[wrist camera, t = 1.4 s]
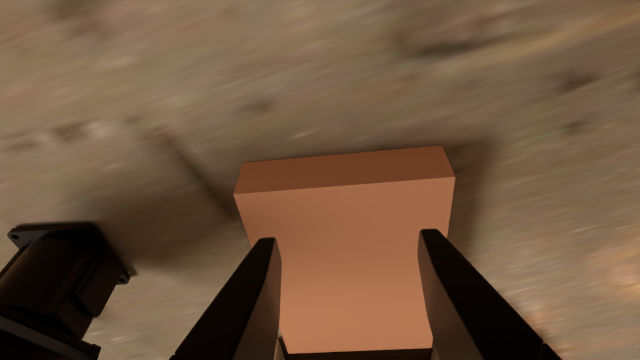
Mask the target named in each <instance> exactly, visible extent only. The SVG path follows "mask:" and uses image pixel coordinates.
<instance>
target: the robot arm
mask: <svg viewBox="0 0 640 360" xmlns="http://www.w3.org/2000/svg"><path fill="white" fill-rule="evenodd" d="M7 236H8V237H9V238H10V240H11V241H12V242H13V243H14V244H15V245H16V246H17V247H18V248H19V251H18V252H17V253H16V254H15V255H14V257H13V258H12V259H11V260H10V261H9V262H8V264H7V265H6V266H5V267H4V268H3V270H2V271H1V272H0V360H97V359H98V356H99V353H100V350H101V347H100V346H98V345H96V344H90V343H87V342H85V341H83V340H82V339H83V337H84V335H85V333H86V331H87V329H88V327H89V326H90V324H91V322H92V320H93V318H97V317H98V316H99V315H100V314H101V312H102V310H103V308H104V307H105V305H106V303H107V301H108V299H109V297H110V295H111V293H112V291H113V290H114V288H115V286H116V285H120V284H127V283H128V282H129V280H130V276H129V274H128V273H127V271H126V270H125V268H124V267H123V265H122V264H121V262H120V261H119V259H118V258H117V256H116V255H115V253H114V252H113V250H112V249H111V247H110V246H109V244H108V243H107V241H106V240H105V238H104V237H103V235H102V234H101V232H100V231H99V229H98V228H97V227H96V226H94V225H92V224H75V225H58V226H41V227H24V228H13V229H11V231H10V232H9V233H8V234H7ZM417 256H418V264H419V270H420V276H421V282H422V289H423V295H424V301H425V307H426V312H427V317H428V321H429V325H430V329H431V332H432V336H433V339H434V343H435V346H436V350H437V353H438V356H439V360H562V359H561V358H560V357H559V356H558V355H557V354H556V353H555V352H554V351H553V350H552V349H551V348H550V346H549V345H548V344H546V343H544V344H543V342H544V341H543V339H542V338H541V337H540V336H539V335H538V334H537V333H536V332H535V331H534V330H533V329H532V328H531V327H530V326H529V325H528V323H527V322H526V321H525V320H524V319H523V318H522V317H521V316H520V315H519V314H518V313H517V312H516V311H515V310H514V309H513V308H512V307H511V306H510V305H509V304H508V302H507V301H506V300H505V299H504V298H503V297H502V296H501V295H500V294H499V293H498V292H497V291H496V290H495V289H494V288H493V287H492V286H491V285H490V284H489V283H488V281H487V280H486V279H485V278H484V277H483V276H482V275H481V274H480V273H479V272H478V271H477V270H476V269H475V268H474V267H473V266H472V265H471V264H470V263H469V261H468V260H467V259H466V258H465V257H464V256H463V255H462V254H461V253H460V252H459V251H458V250H457V249H456V248H455V247H454V246H453V245H452V244H451V243H450V242H449V240H448V239H447V238H446V237H445V236H444V235H443V234H442V233H441V232H440V231H439V230H438V229H435V228H433V229H422V230H420V232H419V240H418V250H417ZM281 273H282V260H281V255H280V251H279V247H278V243H277V240H276V238H275V237H265V238H260V239H259V240H258V241H257V242H256V243H255V245H254V246H253V247H252V249H251V250H250V251H249V253H248V254H247V256H246V257H245V258H244V260H243V261H242V262H241V264H240V265H239V266H238V268H237V269H236V270H235V272H234V273H233V274H232V276H231V277H230V278H229V280H228V281H227V282H226V284H225V285H224V286H223V288H222V289H221V291H220V292H219V293H218V295H217V296H216V297H215V299H214V300H213V301H212V303H211V304H210V305H209V307H208V308H207V309H206V311H205V312H204V313H203V315H202V316H201V317H200V319H199V320H198V321H197V323H196V324H195V326H194V327H193V328H192V330H191V331H190V332H189V334H188V335H187V336H186V338H185V339H184V340H183V342H182V343H181V344H180V346H179V347H178V348H177V350H176V351H175V355H172V356H171V358H170V359H169V360H274V354H275V348H276V342H277V336H278V329H279V319H280V299H281Z"/></svg>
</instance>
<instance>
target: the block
mask: <svg viewBox="0 0 640 360" xmlns="http://www.w3.org/2000/svg"><path fill="white" fill-rule="evenodd" d="M454 184H455V174H454V172H453V170H452V168H451V165H450V163H449V161H448V158H447V156H446V154H445V152H444V149H443V147H442V145H439V146H428V147H416V148H405V149H394V150H382V151H371V152H359V153H348V154H336V155H325V156H314V157H302V158H291V159H279V160H268V161H256V162H245V163H243V165H242V168H241V171H240V174H239V177H238V181H237V184H236V187H235V190H234V194H233V195H234V198H235V201H236V204H237V207H238V210H239V213H240V215H241V218H242V221H243V224H244V227H245V230H246V233H247V236H248V239H249V241H250V244H251V247H253V246H254V245H255V243H256V242H257V241H258V240H259V239H260V238H265V237H275V238H276V240H277V243H278V247H279V251H280V255H281V260H282V273H281V299H280V319H279V328H280V331H281V334H282V337H283V340H284V343H285V345H286V348H287V351H288V354H292V353H317V352H342V351H367V350H392V349H417V348H432V342H433V336H432V332H431V329H430V325H429V321H428V317H427V312H426V307H425V301H424V295H423V289H422V282H421V276H420V270H419V264H418V256H417V250H418V240H419V232H420V230H422V229H433V228H435V229H438V230H439V231H440V232H441V233H442V234H443V235H444V236H445V237H446V238H447V234H448V227H449V220H450V213H451V206H452V199H453V192H454Z"/></svg>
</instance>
